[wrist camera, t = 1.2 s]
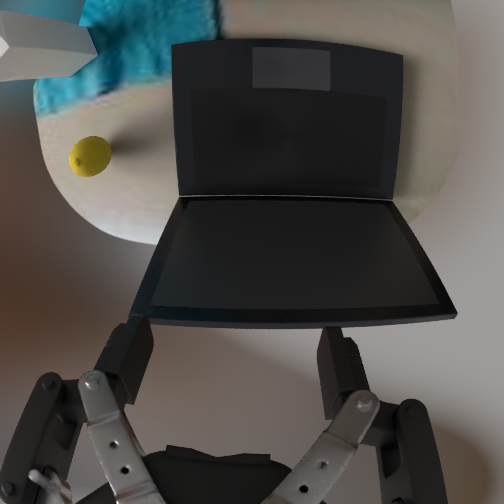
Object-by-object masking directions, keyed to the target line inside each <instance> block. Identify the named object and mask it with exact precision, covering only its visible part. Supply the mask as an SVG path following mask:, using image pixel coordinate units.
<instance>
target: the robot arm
mask: <svg viewBox="0 0 504 504" xmlns="http://www.w3.org/2000/svg"><path fill="white" fill-rule="evenodd" d="M153 346H154V339H153V335H152V331H151V327H150V322H149V318H148V316H147V315H139V314H131V315H130V317H129V319H128V321H127V322H126V324H124V323H121V324H120V325H118V326H117V327H116V328H115V329H114V330H113V332H112V333H111V335H110V337H109V340H108V341H107V343H106V346H105V347H104V349H103V351H102V353H101V355H100V357H99V359H98V361H97V363H96V365H95V367H94V369H93V371H88V372H86V373H85V374H83V375H82V376H81V377H80V379H77V380H62V378H61V377H60V376H59V375H58V374H57V373H54V372H49V373H45V374H43V375H42V376H41V377H40V378H39V379H38V381H37V383H36V385H35V387H34V389H33V391H32V393H31V395H30V397H29V400H28V402H27V404H26V406H25V408H24V411H23V413H22V415H21V418H20V420H19V422H18V425H17V427H16V430H15V432H14V435H13V437H12V440H11V443H10V445H9V448H8V450H7V453H6V456H5V459H4V462H3V465H2V468H1V471H0V498H1V499H2V501H3V502H5V503H7V504H73V502H72V490H71V487H70V485H69V484H68V482H67V481H66V480H67V476H68V472H69V468H70V465H71V461H72V458H73V454H74V450H75V447H76V444H77V441H78V437H79V434H80V431H81V428H82V425H83V423H88V424H87V428H88V431H89V434H90V437H91V439H92V442H93V445H94V448H95V450H96V453H97V455H98V458H99V460H100V463H101V465H102V468H103V470H104V472H105V475H106V477H107V479H108V482H107V483H106V484H104V485H103V486H101V487H100V488H98V489H97V490H95V491H94V492H92V493H91V494H89V495H87V496H86V497H84V498H83V499H81V500H80V501H78V502H76V503H75V504H326V503H325V502H324V501H323V498H324V497H325V496H326V494H327V493H328V492H329V490H330V489H331V487H332V486H333V484H334V483H335V482H336V481H337V479H338V478H339V476H340V475H341V473H342V472H343V471H344V469H345V468H346V466H347V465H348V463H349V461H350V460H351V458H352V457H353V455H354V454H355V452H356V450H357V449H358V446H359V444H365V445H370V446H375V447H376V454H377V463H378V471H379V480H380V489H381V501H382V504H448V500H447V495H446V489H445V483H444V478H443V473H442V468H441V464H440V459H439V455H438V450H437V446H436V442H435V438H434V434H433V431H432V426H431V423H430V419H429V416H428V412H427V409H426V407H425V405H424V404H423V403H422V402H420V401H418V400H416V399H406V400H404V401H403V402H401V404H400V405H397V404H392V403H386V402H383V401H380V400H379V399H378V397H377V396H376V395H375V394H373V393H372V392H371V391H370V388H369V384H368V381H367V378H366V374H365V370H364V367H363V364H362V360H361V357H360V353H359V349H358V346H357V344H356V343H355V342H354V341H353V340H352V338H350V337H347V338H344V337H343V333H342V329H341V327H340V326H324V327H323V330H322V334H321V338H320V341H319V345H318V349H317V365H318V372H319V378H320V385H321V392H322V399H323V406H324V413H325V420H332V419H333V421H332V422H331V423H330V425H329V426H328V428H327V429H326V430H324V431H323V433H322V434H321V435H320V436H319V438H318V439H317V440H316V442H315V443H314V444H313V445H312V447H311V448H310V449H309V451H308V452H307V453H306V454H305V455H304V457H303V458H302V459H301V460H300V462H299V463H298V464H297V465H296V466H295V467H294V469H293V470H292V469H291V468H289V467H287V466H286V465H284V464H281V463H279V462H276V461H273V460H270V454H247V453H243V454H237V455H231V456H223V457H214V456H211V455H208V454H205V453H203V452H200V451H197V450H194V449H192V448H184V447H177V446H171V445H167V447H166V451H158V452H154V453H151V454H148V455H146V454H145V452H144V450H143V448H142V447H141V445H140V443H139V441H138V439H137V437H136V435H135V433H134V431H133V429H132V427H131V425H130V423H129V421H128V418H127V416H126V414H125V411H124V407H125V404H126V403H127V404H132V405H134V403H135V399H136V397H137V394H138V391H139V388H140V385H141V382H142V379H143V376H144V373H145V371H146V367H147V365H148V362H149V359H150V357H151V353H152V351H153Z"/></svg>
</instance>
